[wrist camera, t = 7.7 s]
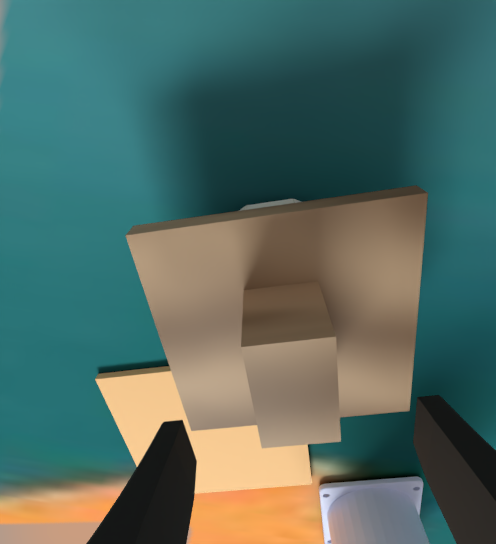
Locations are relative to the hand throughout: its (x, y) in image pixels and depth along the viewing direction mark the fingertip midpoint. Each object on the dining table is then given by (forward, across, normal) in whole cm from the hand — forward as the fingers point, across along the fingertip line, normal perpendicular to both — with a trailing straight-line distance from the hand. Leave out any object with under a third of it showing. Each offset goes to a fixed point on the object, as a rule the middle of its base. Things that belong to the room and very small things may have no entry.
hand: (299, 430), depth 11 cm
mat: (+10, +6, +12) cm, 17 cm away
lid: (+6, 0, 0) cm, 6 cm away
